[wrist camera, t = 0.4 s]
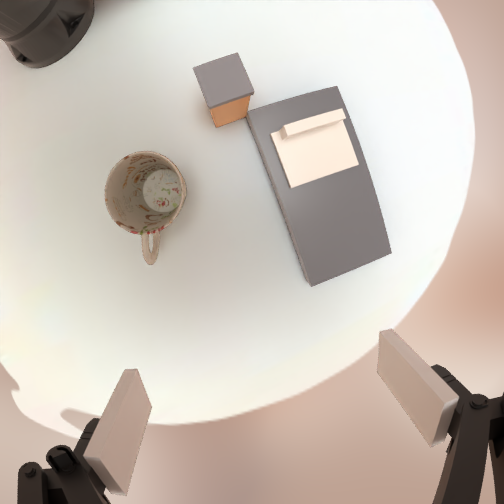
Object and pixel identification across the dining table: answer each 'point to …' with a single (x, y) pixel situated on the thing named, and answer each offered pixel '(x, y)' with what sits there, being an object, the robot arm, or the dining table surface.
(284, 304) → the dining table surface
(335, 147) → the panel
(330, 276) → the socket
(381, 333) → the robot arm
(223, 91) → the plug
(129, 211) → the mug
